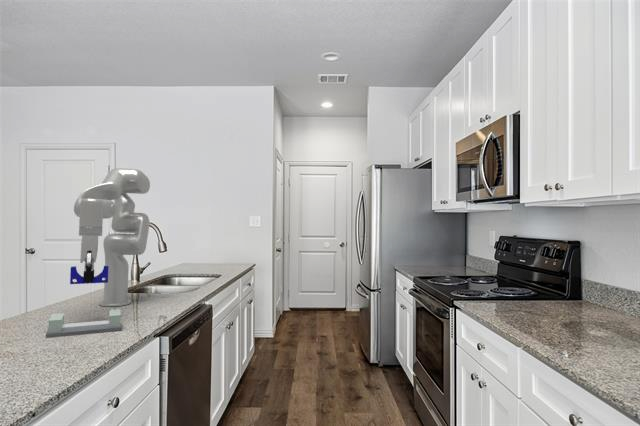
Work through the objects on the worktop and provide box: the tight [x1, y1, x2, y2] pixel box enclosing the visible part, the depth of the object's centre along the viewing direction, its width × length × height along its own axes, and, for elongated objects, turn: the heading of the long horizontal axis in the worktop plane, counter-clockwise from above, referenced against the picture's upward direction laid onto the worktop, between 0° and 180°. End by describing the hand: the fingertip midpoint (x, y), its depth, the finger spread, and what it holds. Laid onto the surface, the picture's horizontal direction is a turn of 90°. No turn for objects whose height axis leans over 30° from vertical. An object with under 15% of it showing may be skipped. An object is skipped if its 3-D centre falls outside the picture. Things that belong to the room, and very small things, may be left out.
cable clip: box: [69, 265, 108, 285], centre depth 148 cm, size 12×4×6 cm, turn 118°
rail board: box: [45, 308, 123, 339], centre depth 139 cm, size 12×22×5 cm, turn 118°
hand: (88, 280), depth 148 cm, fingers closed on cable clip, 4 cm apart
